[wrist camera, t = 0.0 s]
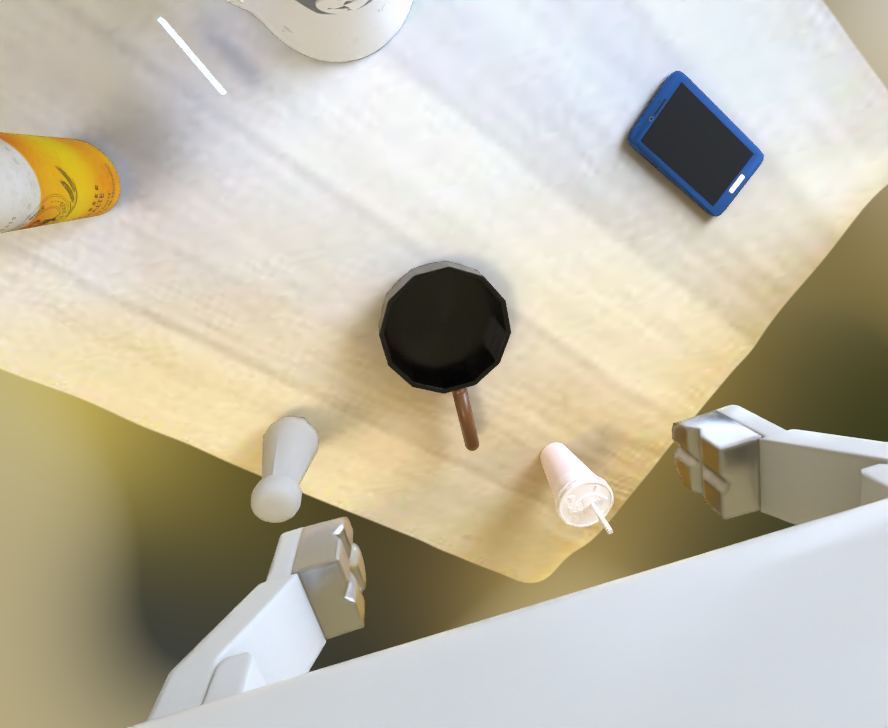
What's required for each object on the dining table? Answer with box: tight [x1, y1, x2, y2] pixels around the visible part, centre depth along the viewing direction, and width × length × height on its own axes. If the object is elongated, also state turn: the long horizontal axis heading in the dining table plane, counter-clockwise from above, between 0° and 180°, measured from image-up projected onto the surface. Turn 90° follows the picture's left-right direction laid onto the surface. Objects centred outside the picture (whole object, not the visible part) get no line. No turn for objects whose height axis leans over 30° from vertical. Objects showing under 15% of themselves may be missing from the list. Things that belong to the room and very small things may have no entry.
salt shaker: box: [251, 416, 319, 523], centre depth 47 cm, size 6×6×13 cm
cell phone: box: [628, 71, 764, 217], centre depth 47 cm, size 7×14×1 cm, turn 57°
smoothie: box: [540, 442, 614, 534], centre depth 53 cm, size 6×6×14 cm
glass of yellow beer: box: [0, 132, 120, 233], centre depth 34 cm, size 6×6×15 cm
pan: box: [378, 261, 511, 451], centre depth 50 cm, size 21×13×4 cm, turn 13°
